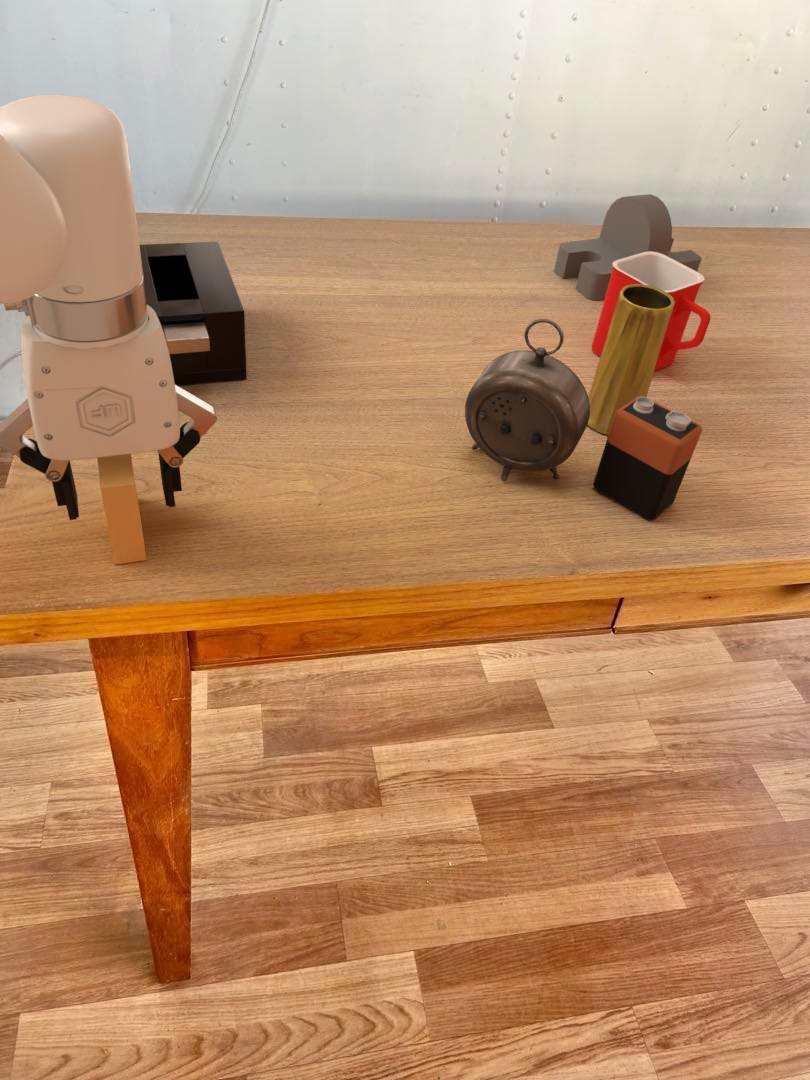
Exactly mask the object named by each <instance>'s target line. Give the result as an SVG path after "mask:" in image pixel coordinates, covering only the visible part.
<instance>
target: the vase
mask: <svg viewBox="0 0 810 1080" xmlns="http://www.w3.org/2000/svg"><path fill="white" fill-rule="evenodd" d="M674 303H675V302H674V299H673V297H672V296H671V295H670V294H668V293H667V292H665V291H663V290H662V289H659V288H656V287H653V286H650V285H644V284H632V285H628V286H625V287H624V288H623V289H622V290H621V292H620V294H619V297H618V301H617V304H616V307H615V311H614V314H613V317H612V321H611V324H610V327H609V331H608V335H607V339H606V342H605V345H604V348H603V351H602V354H601V357H600V356H599V361H598V363H597V366H596V370H595V373H594V376H593V380H592V384H591V388H590V391H589V393H588V398H589V404H590V416H589V421H588V424H587V426H588V427H589V428H590V429H592V430H593V431H595V432H597V433H599V434H603V435H605V436H608V435H609V432H610V429H611V425H612V422H613V419H614V416H615V413H616V411H617V410H618V409H620V408H621V407H623V406H624V405H626V404H627V403H629V402H630V401H631V400H633V399H634V398H636V397H637V396H643V397H646V398H648V393H649V390H650V386H651V382H652V379H653V376H654V372H655V371H654V369H655V365H656V362H657V358H658V355H659V351H660V348H661V345H662V342H663V338H664V335H665V332H666V329H667V326H668V323H669V320H670V317H671V314H672V310H673V307H674Z"/></svg>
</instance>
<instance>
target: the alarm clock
mask: <svg viewBox="0 0 810 1080" xmlns="http://www.w3.org/2000/svg"><path fill="white" fill-rule="evenodd" d="M540 323H541V324H543V323H545V324H549V325H551V326H553V327H554V328H555V329H556V331H557V332H558V334H559V342H558V345H557V346H556V347H555V348H554V349H553V350H550V351H547V349H546V348H545V347H543V346H542V347H541V346H539V347H537V348H535V347H534V346H532V344H531V342H530V339H529V332H530V330H531V328H533V327H534V326H535V325H537V324H540ZM564 338H565V337H564V332H563V330H562V328H561V326H560V325H559V324H558V323H557V322H555V321H554V320H552V319H548V318H538V319H535V320H532V321H531V322H530V323H528V325H527V326H526V327H525V331H524V340H525V343H526V346H527V347H528V348H529V349H521V350H520V349H519V350H513V351H509V352H505V353H503V354H501V355H499V356H496V357H495V358H494V359H493V360H491V361H490V362H489V363H488V364H487V365H486V367H485V368H484V369H483V371H482V372H481V374H480V376H478V379H477V380H476V381H475V382H474V384H473V385H472V387H471V388H470V390H469V392H468V394H467V397H466V399H465V406H464V416H465V424H466V426H467V429H468V433H469V435H470V436H471V438H472V439H473V441H474V443H473V444H472V445H471V449H472V450H473V451H477V450H478V449H480V451H481V452H483V454H484V455H486V456H487V457H488V458H490V459H491V460H492V461H494V462H495V463H497V464H499V465H500V466H503V468H502V471H501V475H500V480H501V482H503V483H507V481H508V480H509V477H510V474H511V471H517V472H522V473H523V472H524V473H540V472H546V471H549V472H551V474H552V479H553V480H555V481H558V480H559V479H560V477H561V476H560V474H559V473H558V469H557V468H558V466H560V465H562V464H563V463H564V462H566V461H567V460H568V459H569V458H570V457H571V455H572V454H573V453H574V451H575V450H576V448H577V446H578V444H579V441H580V440H581V438H582V436H583V435H584V433H585V431H586V429H587V426H588V425H587V424H588V421H589V416H590V404H589V398H588V396H589V394H588V393H587V390H586V388H585V386H584V384H583V382H582V381H581V379H580V378H579V376H578V375H577V374H576V372H574V371H573V370H572V369H571V368H570V367H569V366H568V365H567V364H565V362H562V361H561V360H559V359H558V358H556V357H554V356H552V355H553V354H555V353H556V352H558V351H559V350H560V349H561V348H562V345H563V343H564Z"/></svg>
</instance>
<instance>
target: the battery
mask: <svg viewBox="0 0 810 1080" xmlns="http://www.w3.org/2000/svg"><path fill="white" fill-rule="evenodd" d="M702 432H703V427H702V425H700V424H699V423H696V422H695V421H693V420H692V418H690V417H689V416H688V414H687V413H686V412H682V411H677V410H673V409H672V410H671V409H670V408H667V407H666V406H663V405H662V404H659V403H658V402H655V401H654V400H653V399H651V398H649V397H643V396H637V397H636V398H634V399H633V400H631V401H630V402H629V403H627V404H626V405H624V406H623V407H621V408H620V409H618V410H617V411H616V413H615V416H614V419H613V422H612V425H611V429H610V432H609V435H607V439H606V441H605V445H604V447H603V451H602V453H601V458H600V461H599V464H598V467H597V470H596V473H595V477H594V480H593V484H592V486H593V489H594V490H596V491H597V492H599V493H601V494H602V495H604V496H606V497H607V498H610V499H611V500H613V501H614V502H616V503H617V504H620V505H621V506H623V507H625V508H627V509H628V510H630V511H632V512H634V513H635V514H637V515H639V516H641V517H642V518H644V519H645V520H647V521H654V520H655V519H656V518H658V517H659V516H660V515H661V514H662V513H663V512H664V511H666V510H667V509H668V508H669V507H670V506H671V505H672V504H674V502H675V499H676V498H677V495H678V492H679V490H680V487H681V485H682V482H683V481H684V480H683V479H684V476H685V474H686V472H687V469H688V467H689V464H690V462H691V459H692V457H693V454H694V452H695V449H696V447H697V445H698V443H699V440H700V437H701V435H702Z"/></svg>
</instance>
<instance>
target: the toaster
mask: <svg viewBox="0 0 810 1080" xmlns="http://www.w3.org/2000/svg"><path fill="white" fill-rule="evenodd" d="M139 245H140V253H141V262H142V270H143V279H144V287H145V296H146V304H147V305H148V306H150V307H151V308H152V309H153V310H154V311H155V313H156V315H157V317H158V319H159V321H160V324H161V327H162V329H163V325H170V324H185V323H199V322H204V323H205V326H206V329H207V332H208V335H209V342H210V351H202V352H189V353H176V354H169V355H170V360H171V365H172V371H173V377H174V383H175V385H177V386H179V387H180V386H189V385H190V386H191V385H201V384H203V385H204V384H214V383H224V382H235V381H247V349H246V348H247V345H246V322H245V321H246V318H245V317H246V315H245V308H244V306H243V304H242V301H241V298H240V295H239V293H238V291H237V287H236V286H235V282H234V280H233V277H232V275H231V272H230V269H229V267H228V264H227V262H226V257H225V256H224V253H223V251H222V247H221V246H220V242H219V241H218V240H217V241H197V242H196V241H195V242H171V243H148V244H139Z"/></svg>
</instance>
